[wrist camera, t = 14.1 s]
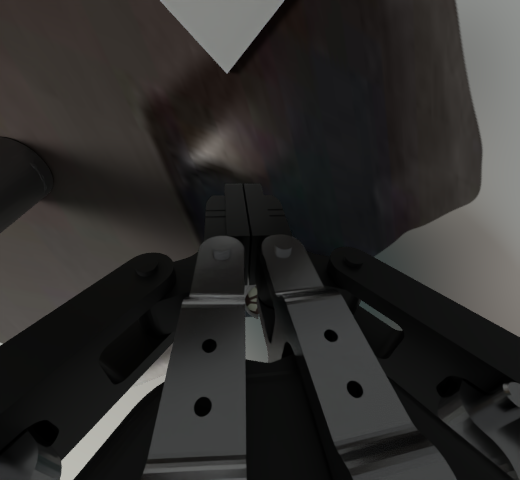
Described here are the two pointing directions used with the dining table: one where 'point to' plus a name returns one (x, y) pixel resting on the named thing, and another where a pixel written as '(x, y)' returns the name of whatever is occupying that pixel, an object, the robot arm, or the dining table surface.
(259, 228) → the robot arm
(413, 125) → the dining table surface
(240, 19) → the trap lane
